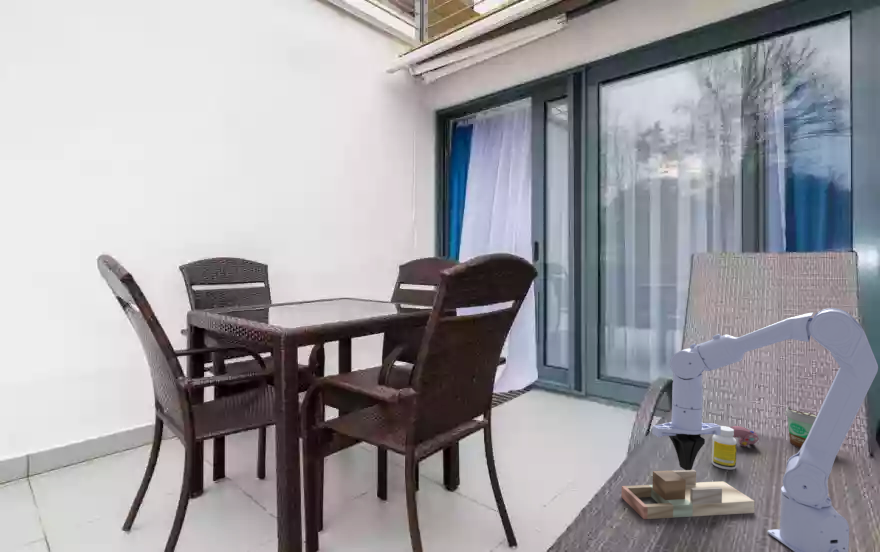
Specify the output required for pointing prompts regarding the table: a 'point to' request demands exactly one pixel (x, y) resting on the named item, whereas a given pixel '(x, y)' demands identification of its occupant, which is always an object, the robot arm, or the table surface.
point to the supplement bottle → (724, 449)
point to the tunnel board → (688, 499)
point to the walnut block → (669, 485)
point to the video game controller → (745, 435)
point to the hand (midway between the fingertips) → (685, 468)
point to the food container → (799, 425)
